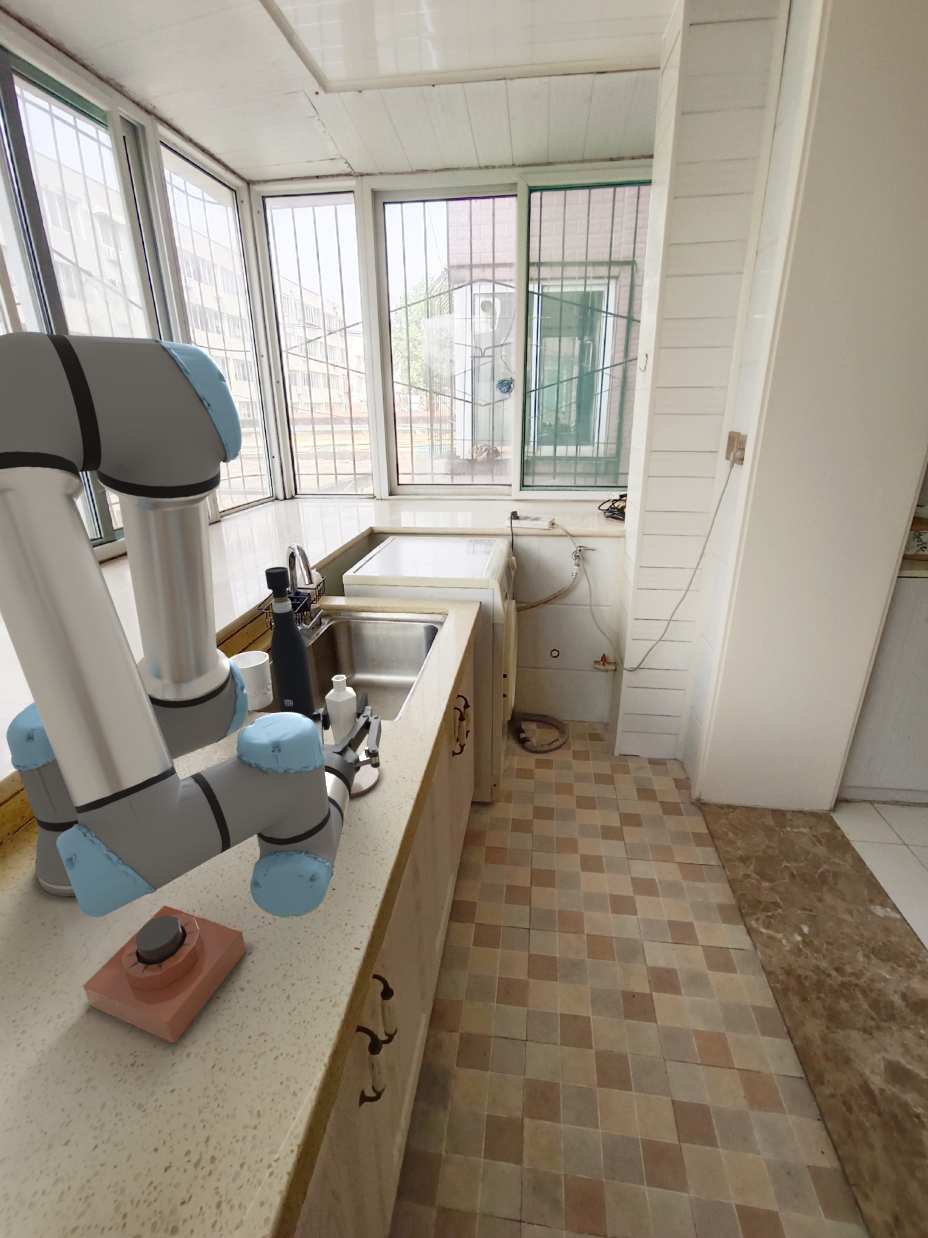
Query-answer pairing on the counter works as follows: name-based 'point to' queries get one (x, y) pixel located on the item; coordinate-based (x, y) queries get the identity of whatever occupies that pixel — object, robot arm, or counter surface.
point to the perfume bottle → (341, 708)
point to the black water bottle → (288, 650)
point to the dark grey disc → (159, 939)
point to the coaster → (364, 780)
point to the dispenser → (167, 977)
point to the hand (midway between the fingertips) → (349, 700)
